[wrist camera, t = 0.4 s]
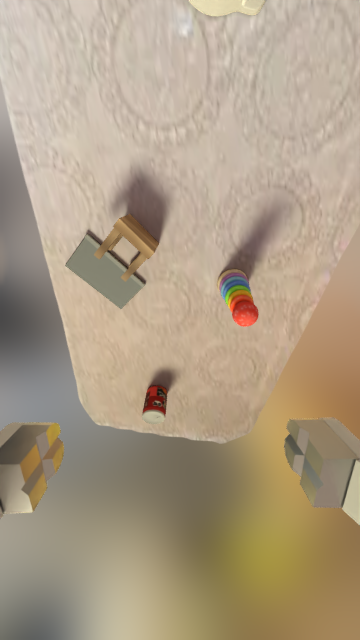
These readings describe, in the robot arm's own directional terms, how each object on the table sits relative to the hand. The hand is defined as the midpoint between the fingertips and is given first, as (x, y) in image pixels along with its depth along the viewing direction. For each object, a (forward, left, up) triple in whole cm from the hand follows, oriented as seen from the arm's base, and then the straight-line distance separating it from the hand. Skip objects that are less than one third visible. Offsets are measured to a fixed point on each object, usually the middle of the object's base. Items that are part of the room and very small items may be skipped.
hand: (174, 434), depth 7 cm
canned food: (+48, +35, -49) cm, 77 cm away
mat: (+23, -6, -48) cm, 54 cm away
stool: (+11, -6, -48) cm, 50 cm away
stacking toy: (0, +19, -49) cm, 52 cm away
